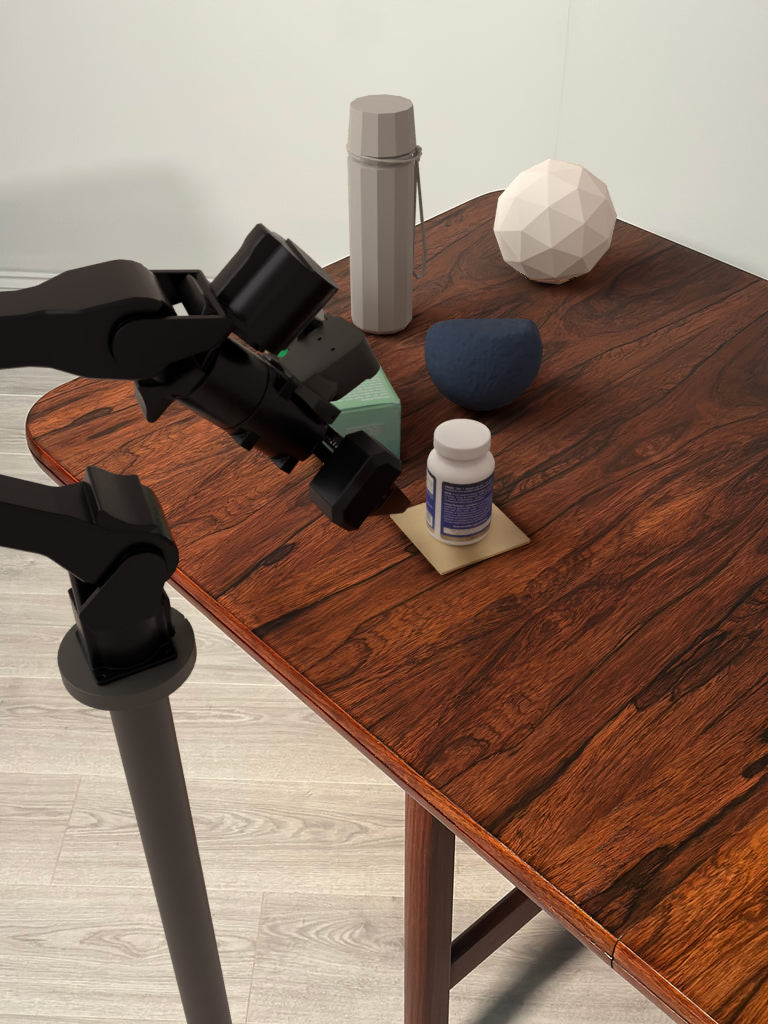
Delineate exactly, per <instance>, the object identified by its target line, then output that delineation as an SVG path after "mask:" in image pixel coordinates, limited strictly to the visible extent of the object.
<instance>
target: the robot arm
mask: <svg viewBox="0 0 768 1024" xmlns="http://www.w3.org/2000/svg"><path fill="white" fill-rule="evenodd" d="M338 291H340V286H339V285H338V284H337V281H335V280H334V279H333V278H332V277H331V275H329V273H328V272H327V271H326V270H325V269H324V268H323V267H322V266H321V265H319V263H317V262H316V261H315V259H313V258H312V257H311V256H310V255H309V254H308V253H306V251H304V250H303V249H302V248H301V247H300V246H299V245H298V244H296V243H295V242H294V241H293V240H292V239H290V238H289V237H287V238H284V237H283V236H282V235H280V234H279V233H277V232H275V231H271V230H270V229H269V228H268V227H267V226H266V225H264V224H263V223H261V222H260V223H256V224H255V225H254V227H253V228H252V229H251V230H250V232H249V233H248V234H247V235H246V236H245V238H244V240H243V241H242V244H241V246H240V248H239V249H238V250H237V251H236V253H235V254H234V255H233V256H232V257H231V258H230V260H229V261H228V262H227V263H226V264H225V265H224V267H223V268H222V269H221V270H220V271H219V273H217V275H216V276H215V277H214V278H213V279H212V281H210V280H208V278H207V277H206V275H205V273H204V272H203V270H202V269H189V268H187V269H149V268H147V266H144V264H143V263H141V262H138V261H135V260H132V259H122V258H119V259H118V258H117V259H112V260H107V261H102V262H98V263H94V264H90V265H85V266H81V267H75V268H72V269H68V270H65V271H63V272H61V273H60V274H57V275H55V276H53V277H50V278H49V279H47V280H45V281H43V282H41V283H39V284H37V285H33V286H29V287H25V288H24V287H23V288H21V289H16V290H15V289H14V290H2V291H0V371H3V370H15V369H23V368H39V369H52V370H56V371H59V372H62V373H65V374H69V375H72V376H77V377H80V378H82V379H88V380H107V381H125V382H126V381H129V382H133V395H134V398H135V400H136V402H137V404H138V406H139V408H140V409H141V412H142V414H143V416H144V418H145V420H146V422H148V423H149V424H154V423H156V422H157V421H158V420H159V419H160V418H161V417H162V415H163V414H164V413H165V412H166V411H167V410H168V409H169V408H170V406H171V405H172V404H173V403H174V402H175V403H177V404H179V405H180V406H181V407H184V408H185V409H187V410H189V411H191V412H192V413H194V414H195V415H197V416H199V417H201V418H202V419H204V420H206V421H208V422H209V423H211V424H213V425H215V426H216V427H217V428H219V429H221V430H222V431H224V432H226V433H227V434H228V435H229V436H230V437H231V438H232V440H233V441H235V442H236V444H237V445H238V446H239V447H241V448H243V449H244V450H246V451H247V452H251V451H252V450H253V448H254V449H255V450H257V451H258V452H260V453H262V454H263V455H265V456H266V457H267V458H268V459H269V460H270V461H271V462H272V463H273V464H274V465H275V466H276V467H277V468H278V470H280V471H282V472H284V473H285V474H287V475H291V473H292V472H293V470H294V469H295V468H296V466H297V465H298V463H299V462H301V463H303V462H305V461H307V460H308V459H309V458H310V457H312V456H313V455H314V456H315V457H316V458H318V460H319V461H320V462H321V463H322V466H321V467H320V469H319V470H318V471H317V473H316V474H315V475H314V476H313V478H312V479H311V481H310V482H309V483H308V491H309V492H308V493H309V494H308V495H309V500H310V501H311V502H312V503H313V504H314V505H315V506H316V508H317V509H319V510H320V512H321V513H323V515H324V516H325V517H326V518H327V519H328V520H329V521H330V522H331V523H332V524H334V525H336V526H338V527H339V528H341V529H343V530H345V531H347V532H348V533H350V532H355V531H358V530H359V529H360V528H361V526H362V525H363V524H364V522H365V521H366V519H367V518H371V517H378V516H388V515H389V516H390V515H391V514H401V513H404V512H405V511H406V510H407V508H410V506H411V505H412V501H411V499H410V498H409V497H408V496H407V495H406V494H405V493H404V492H403V490H402V489H401V488H400V487H399V486H398V485H397V483H396V480H397V479H398V478H399V477H400V475H401V474H402V473H403V462H404V461H402V460H401V458H400V459H399V458H398V457H396V456H395V455H394V454H393V453H392V452H391V451H390V450H388V449H387V448H386V447H385V446H384V445H382V444H381V443H380V442H379V441H377V440H376V439H375V438H373V437H372V436H371V435H369V434H368V433H366V432H365V431H363V430H359V431H356V432H353V433H350V434H346V435H345V437H343V436H342V435H341V434H340V433H339V432H338V431H336V430H335V429H334V428H333V427H332V426H331V424H333V422H334V421H335V420H336V418H337V417H338V416H339V414H340V413H341V412H342V411H341V410H340V409H339V408H337V407H336V406H335V405H333V404H332V403H330V402H334V401H338V400H340V399H341V398H343V397H344V396H346V395H347V394H348V393H349V392H351V391H352V390H353V389H355V388H356V387H357V386H359V385H360V384H361V383H362V382H364V381H365V380H367V379H371V378H373V377H374V376H375V375H376V374H377V373H378V371H379V370H380V366H381V363H380V362H379V360H378V357H376V354H375V352H374V351H373V349H372V347H371V345H370V343H369V341H368V339H367V337H366V335H365V332H364V331H363V330H361V329H359V328H358V327H356V326H355V325H354V324H353V323H351V322H349V321H348V320H347V319H345V318H344V317H343V316H338V315H337V316H333V315H331V314H330V313H329V312H327V313H324V320H321V319H319V318H318V317H317V316H316V315H317V314H318V313H319V312H320V311H321V310H322V308H323V309H324V307H325V306H327V304H328V303H329V302H330V301H331V299H332V298H333V297H334V296H335V295H336V294H337V293H338ZM180 304H182V307H183V308H184V310H185V312H186V313H187V315H179V314H178V313H177V311H176V309H175V307H174V306H177V305H180ZM231 334H234V335H235V336H237V337H238V338H239V339H240V340H242V341H243V342H244V343H246V344H247V345H248V346H249V347H251V348H252V349H253V350H255V351H257V353H256V352H254V351H252V350H251V349H250V348H248V347H247V346H245V345H244V344H242V343H241V342H239V341H238V340H236V339H235V338H234V337H232V336H231ZM286 349H288V351H287V354H286V355H285V356H283V357H282V358H281V357H279V356H278V354H279V353H280V352H281V351H285V350H286ZM265 350H267V351H268V352H270V353H266V352H265ZM261 353H262V354H261ZM374 354H375V355H374ZM323 463H324V465H323ZM83 474H84V475H83V479H82V480H81V481H78V482H77V481H76V482H73V483H69V484H65V485H61V486H57V485H56V486H55V485H54V486H53V485H49V484H44V483H41V482H35V481H31V480H27V479H23V478H20V477H19V478H18V477H15V476H10V475H6V474H2V473H0V548H3V549H4V548H5V549H10V550H15V551H20V552H26V553H30V554H35V555H40V556H43V557H45V558H47V559H49V560H50V561H52V562H53V563H55V564H56V565H58V566H59V567H60V568H62V569H64V570H65V571H67V573H68V577H69V581H70V586H71V587H70V588H68V589H67V595H68V597H69V601H70V605H71V609H72V613H73V617H74V621H75V623H76V625H77V629H78V630H77V631H76V632H75V635H76V639H77V641H78V643H79V646H80V648H81V650H82V653H83V655H84V657H85V660H86V662H87V664H88V667H89V669H90V671H91V674H92V676H93V678H94V681H95V683H96V684H97V685H98V686H104V685H107V684H110V683H112V682H115V681H118V680H121V679H123V678H126V677H129V676H132V675H134V674H137V673H140V672H143V671H145V670H148V669H151V668H154V667H156V666H159V665H162V664H165V663H167V662H170V661H173V660H175V659H176V658H177V657H178V653H177V649H176V648H175V646H174V644H173V642H172V640H171V638H172V637H174V636H175V634H176V633H175V627H174V621H173V616H172V610H171V607H172V606H171V605H172V604H171V599H170V596H169V595H168V593H167V591H166V589H165V584H166V582H167V581H170V579H171V578H172V577H173V575H174V574H175V572H176V571H177V568H178V566H179V562H180V550H179V548H178V545H177V543H176V540H175V537H174V535H173V532H172V529H171V527H170V524H169V522H168V518H167V516H166V514H165V511H164V508H163V506H162V503H161V502H160V499H159V498H158V496H157V494H156V493H155V491H154V490H153V489H151V488H150V486H147V485H145V484H143V483H142V482H141V480H140V477H139V475H138V474H120V473H114V472H112V471H109V470H107V469H104V468H102V467H99V466H96V465H87V466H86V468H85V470H84V473H83ZM170 654H172V655H170ZM100 679H103V680H100Z"/></svg>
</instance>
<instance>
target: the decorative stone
mask: <svg viewBox="0 0 768 1024" xmlns="http://www.w3.org/2000/svg"><path fill="white" fill-rule="evenodd" d="M423 347H424V352H423V353H424V360H425V364H426V370H427V372H428V375H429V377H430V379H431V381H432V383H433V384H434V386H435V387H436V388H437V390H438V391H439V392H440V393H441V394H442V395H443V396H444V397H445V398H446V399H448V400H449V401H450V402H452V403H453V404H455V405H457V406H460V407H461V408H466V409H467V410H471V411H475V412H476V411H480V412H481V411H485V412H487V411H489V412H490V411H491V410H497V409H500V408H503V407H505V406H507V405H509V404H511V403H512V402H515V401H516V400H517V399H519V397H521V396H522V395H523V394H525V392H527V391H528V390H529V388H530V387H531V385H533V383H534V381H535V380H536V378H537V376H538V375H539V371H540V370H541V364H542V362H543V357H544V344H543V341H542V336H541V331H540V329H539V327H538V325H537V324H536V322H535V321H533V320H532V319H528V318H527V319H526V318H517V317H514V318H513V317H511V318H453V319H447V320H441V321H437V322H435V323H434V324H432V325H431V326H430V327H429V328H428V330H427V331H426V333H425V340H424V346H423Z"/></svg>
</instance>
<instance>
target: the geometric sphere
mask: <svg viewBox="0 0 768 1024" xmlns="http://www.w3.org/2000/svg"><path fill="white" fill-rule="evenodd" d="M617 218H618V214H617V211H616V209H615V206H614V203H613V200H612V197H611V194H610V192H609V189H608V186H607V184H606V182H605V181H603V180H601V179H600V178H599V177H597V176H596V175H594V174H593V173H592V172H590V171H589V170H588V169H587V168H585V167H584V166H583V165H581V164H580V163H575V162H570V161H565V160H560V159H554V158H548V159H546V160H543V161H541V162H539V163H537V164H536V165H533V166H531V167H529V168H527V169H524V170H523V171H521V172H519V174H518V175H517V176H516V177H515V178H514V179H513V181H512V182H510V184H509V185H508V186H507V187H506V189H505V190H504V191H503V192H501V194H500V196H499V197H498V198H497V205H496V211H495V217H494V224H493V233H494V235H495V238H496V241H497V245H498V247H499V250H500V253H501V256H502V259H503V261H504V262H505V263H507V264H508V265H509V266H510V267H512V269H514V270H515V271H517V272H518V271H519V272H520V273H519V272H518V273H519V274H521V273H522V274H524V275H526V276H527V277H531V278H535V279H544V280H562V279H567V278H572V277H576V278H578V277H580V276H583V275H585V274H587V273H589V272H591V270H592V269H593V268H594V267H595V266H596V265H597V263H599V261H600V260H601V259H602V257H603V256H604V255H605V254H606V253H607V251H608V250H609V249H610V247H611V243H612V239H613V234H614V230H615V226H616V221H617ZM522 274H521V275H522ZM569 281H570V280H566V281H561V282H547V281H536V282H537V283H546V284H552V285H561V284H564V283H567V282H569Z"/></svg>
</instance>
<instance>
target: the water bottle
mask: <svg viewBox="0 0 768 1024" xmlns="http://www.w3.org/2000/svg"><path fill="white" fill-rule="evenodd" d="M348 115H349V116H348V129H347V143H346V144H345V149H346V153H347V157H346V159H347V161H346V162H347V197H348V198H347V199H348V200H347V201H348V229H349V230H348V232H349V233H348V237H349V238H348V239H349V240H348V241H349V243H348V244H349V279H350V280H349V281H350V282H349V283H350V311H351V312H350V314H351V315H350V316H351V320H352V324H353V325H354V326H355V327H356V328H358V329H359V330H360V331H362V332H363V333H369V334H373V335H379V336H380V335H390V334H391V335H392V334H396V333H398V332H400V331H403V330H405V329H406V328H407V326H408V325H409V324H410V323H411V321H412V320H413V290H414V289H413V287H414V286H413V282H414V279H413V278H415V279H416V280H418V279H422V278H424V277H425V273H426V270H427V261H428V252H427V241H426V229H425V228H426V227H425V218H424V207H423V196H422V195H423V194H422V184H421V175H420V174H421V173H420V162H421V157H422V155H423V152H422V151H423V147H421V146H420V145H418V144H417V135H416V122H415V110H414V103H413V102H412V100H411V99H410V98H409V99H408V98H406V97H404V96H402V95H395V94H388V93H387V94H386V93H384V94H383V93H382V94H367V95H364V96H360V97H356V98H355V99H353V100H352V101H351V102H350V103H349V114H348ZM417 197H418V209H419V220H420V235H421V245H422V261H421V268H420V272H419V273H418V274H416V272H415V251H416V250H415V247H416V223H417V221H416V219H417Z"/></svg>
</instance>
